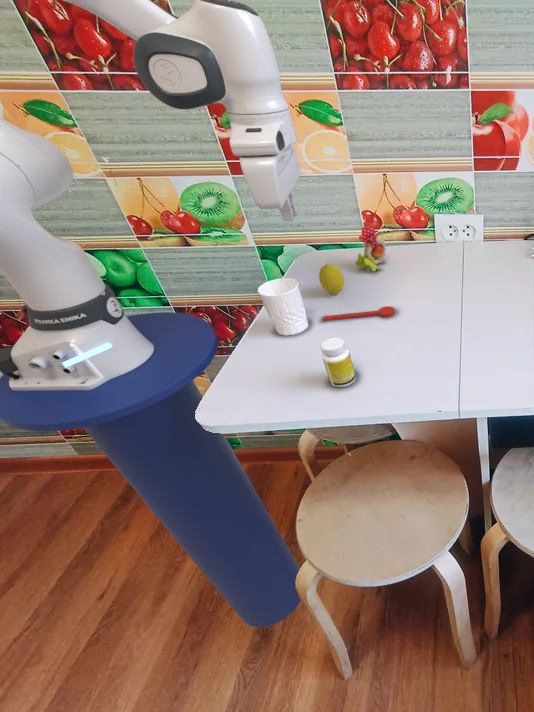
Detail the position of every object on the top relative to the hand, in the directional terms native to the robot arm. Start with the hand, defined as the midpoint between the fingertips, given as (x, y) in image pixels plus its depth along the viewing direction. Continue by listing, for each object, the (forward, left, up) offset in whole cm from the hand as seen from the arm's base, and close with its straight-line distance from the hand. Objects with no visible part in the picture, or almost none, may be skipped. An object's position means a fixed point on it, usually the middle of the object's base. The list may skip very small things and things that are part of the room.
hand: (290, 218), depth 82 cm
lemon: (0, +21, -26) cm, 34 cm away
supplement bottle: (+4, -15, -26) cm, 30 cm away
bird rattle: (+9, +35, -26) cm, 45 cm away
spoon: (+6, +9, -26) cm, 28 cm away
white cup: (-8, +7, -26) cm, 28 cm away
